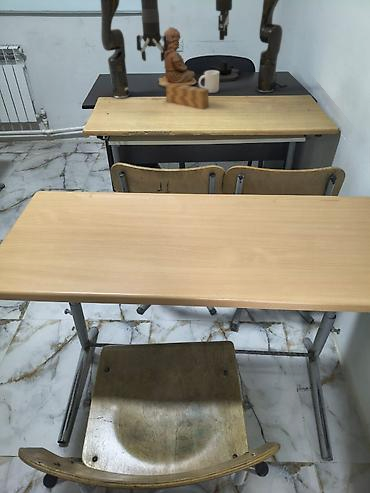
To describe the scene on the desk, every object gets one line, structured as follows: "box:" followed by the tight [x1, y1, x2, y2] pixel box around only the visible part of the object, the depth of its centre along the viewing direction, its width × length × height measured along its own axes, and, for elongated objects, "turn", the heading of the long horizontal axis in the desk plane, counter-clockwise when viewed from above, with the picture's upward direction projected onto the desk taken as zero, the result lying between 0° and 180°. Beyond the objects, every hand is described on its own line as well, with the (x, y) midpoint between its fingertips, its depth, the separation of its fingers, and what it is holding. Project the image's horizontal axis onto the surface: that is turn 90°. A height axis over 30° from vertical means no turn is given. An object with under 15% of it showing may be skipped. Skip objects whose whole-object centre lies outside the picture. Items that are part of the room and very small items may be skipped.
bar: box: [165, 83, 209, 110], centre depth 191 cm, size 24×5×9 cm, turn 56°
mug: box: [197, 69, 220, 94], centre depth 205 cm, size 12×8×10 cm
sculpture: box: [157, 27, 198, 88], centre depth 214 cm, size 27×24×30 cm
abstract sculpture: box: [202, 58, 240, 83], centre depth 228 cm, size 25×9×20 cm
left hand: (153, 60), depth 167 cm, fingers open, 8 cm apart
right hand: (223, 37), depth 175 cm, fingers open, 8 cm apart
